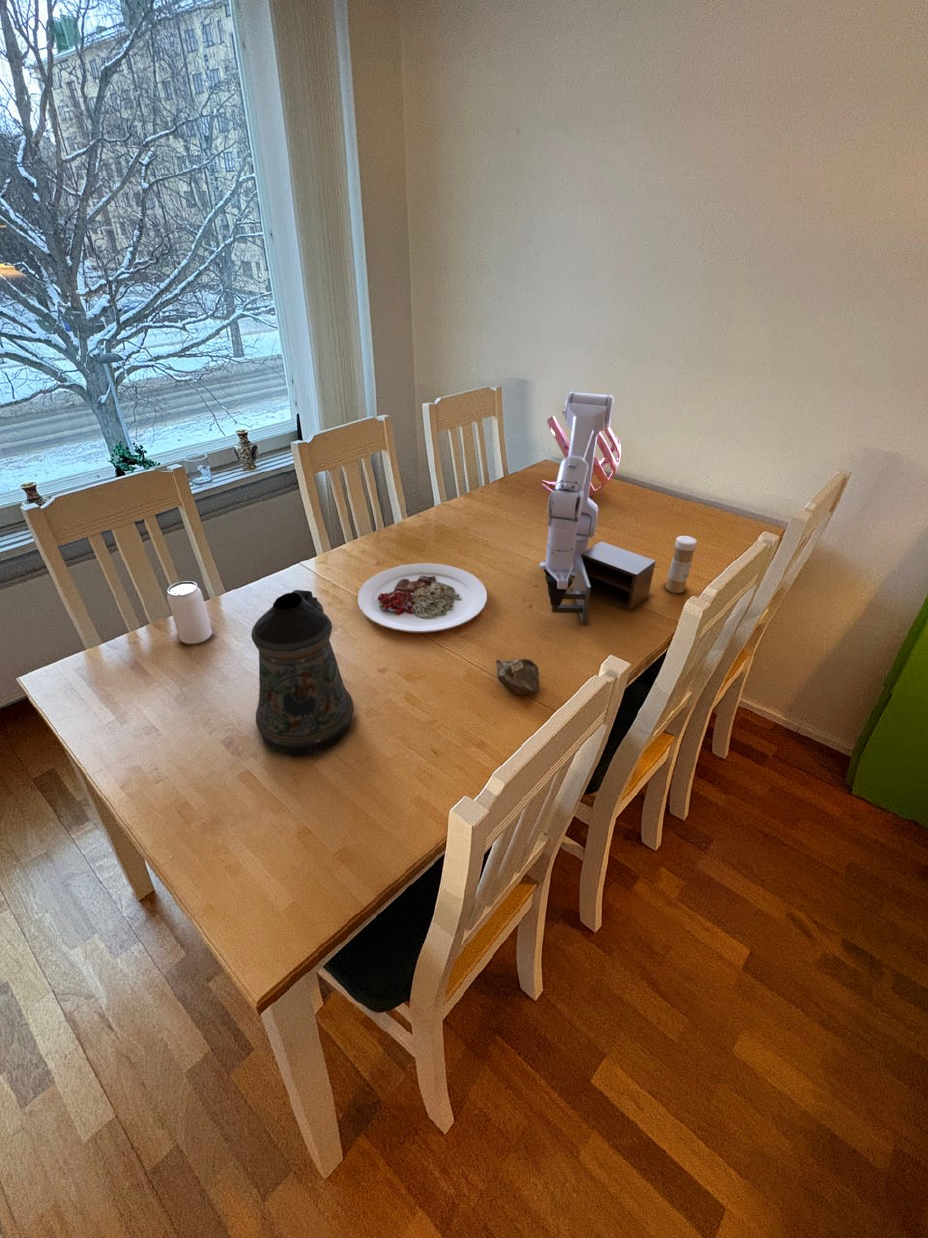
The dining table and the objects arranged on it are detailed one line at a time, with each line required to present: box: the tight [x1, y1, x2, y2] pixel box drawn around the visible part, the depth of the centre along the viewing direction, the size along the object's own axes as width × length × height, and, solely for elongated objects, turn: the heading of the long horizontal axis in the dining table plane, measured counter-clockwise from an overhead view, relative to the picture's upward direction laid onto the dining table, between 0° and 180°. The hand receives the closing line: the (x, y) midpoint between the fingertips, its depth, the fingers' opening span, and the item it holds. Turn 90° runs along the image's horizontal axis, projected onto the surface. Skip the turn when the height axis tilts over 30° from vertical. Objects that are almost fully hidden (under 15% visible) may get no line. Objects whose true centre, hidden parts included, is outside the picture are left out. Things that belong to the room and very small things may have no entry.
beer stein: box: [251, 589, 355, 757], centre depth 99 cm, size 16×19×25 cm
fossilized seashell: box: [495, 657, 540, 695], centre depth 113 cm, size 8×7×10 cm
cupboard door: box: [551, 555, 591, 624], centre depth 136 cm, size 8×15×9 cm, turn 179°
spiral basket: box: [540, 409, 622, 497], centre depth 189 cm, size 28×28×27 cm
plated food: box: [357, 562, 488, 633], centre depth 138 cm, size 30×30×3 cm
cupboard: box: [581, 541, 657, 611], centre depth 141 cm, size 9×15×10 cm, turn 48°
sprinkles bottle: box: [665, 535, 698, 594], centre depth 141 cm, size 5×5×14 cm
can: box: [166, 580, 213, 645], centre depth 123 cm, size 6×6×12 cm
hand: (554, 600), depth 132 cm, fingers closed
